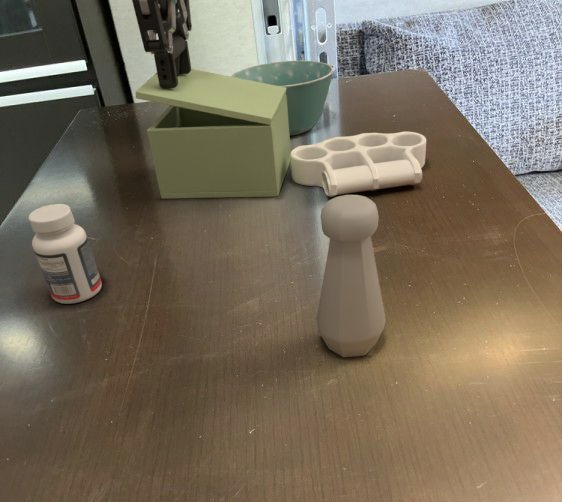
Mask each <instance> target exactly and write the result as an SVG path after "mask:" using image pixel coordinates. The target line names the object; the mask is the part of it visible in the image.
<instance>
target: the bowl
mask: <svg viewBox="0 0 562 502" xmlns="http://www.w3.org/2000/svg"><path fill="white" fill-rule="evenodd" d="M333 74H334V68H333V66H332V65H330V64H329V63H326V62H322V61H316V60H282V61H281V60H280V61H275V62H274V61H273V62H267V63H262V64H257V65H252V66H250V67H246V68H243V69H241V70H237V71H236V72H234V73H233V74H232V75H231V76H230V77H235V78H240V79H245V80H250V81H255V82H260V83H265V84H270V85H275V86H280V87H285V88H286V95H287V109H288V122H289V135H290V137H291V136H296V135H301V134H304V133H307V132H308V131H310V130H311V129H313V127H315V125H316V124H317V123H318V122H319V121H320V119H321V117H322V115H323V111H324V108H325V104H326V101H327V98H328V94H329V90H330V86H331V82H332V80H333V79H332V78H333Z"/></svg>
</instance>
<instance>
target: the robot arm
mask: <svg viewBox="0 0 562 502" xmlns="http://www.w3.org/2000/svg"><path fill="white" fill-rule="evenodd" d="M131 3H132V6H133V10H134V13H135V17H136V22H137V26H138V29H139V33H140V38H141V41H142V46H143V50H144V52H145V53H150V54H151V55H153V58H154V63H155V68H156V69H155V70H156V73H157V75H158V80H159V85H160V87H161V88H175V87H176V86H177V85H178V78H177V71H176V65H175V59H174V53H173V41H172V37H173V36H175V35H179V36H181V37H182V38H183V39H184V40H185V43H186V48H185V50H184V51H183V52H182V53H181V54H180V71H179V74H188V73H190V71H191V69H192V65H191V64H192V63H191V58H190V52H189V43H188V40H189V38H190V37H189V36H190V33H189V32H191V31H192V28H193V25H192V16H191V6H190V0H131ZM157 38H158V39H157Z"/></svg>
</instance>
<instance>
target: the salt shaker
mask: <svg viewBox="0 0 562 502" xmlns="http://www.w3.org/2000/svg"><path fill="white" fill-rule="evenodd" d="M320 210H321V211H320V225H321V231H322V233H323V235H324V236H325V237H327V238H329V242H328V249H327V250H328V251H327V255H326V262H325V267H324V273H323V280H322V285H321V291H320V296H319V302H318V307H317V308H318V309H317V313H316V314H317V315H316V326H317V330H318V333H319V335H320V337H321V338H322V340H323V341H324V343H325V345H326V347H327V348H328V349H329V350H330V351H332V352H334V353H335V354H337V355H338V356H341V357H342V358H352V357H363V356H366V355H367V354H368V353H369V352H370V351H371V350H372V349H373V348H374V347H375V346H376V345H377V343H378V341H379V339H380V337H381V336H382V333H383V331H384V329H385V327H386V323H387V318H386V313H385V307H384V303H383V297H382V291H381V286H380V280H379V275H378V269H377V263H376V258H375V257H376V256H375V252H374V247H373V241H372V236H373V235H374V234H375V233H376V232H377V230H378V227H379V218H380V217H379V211H378V207H377V205H376V202H374V201H373V200H372V199H370V198H368V197H367V196H364V195H361V194H360V195H359V194H342V195H339V196H334V197H332V198H331V199H329V200H328V201H327V202H326V203H325V204H324V206H323V207H321V209H320Z"/></svg>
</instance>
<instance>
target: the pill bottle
mask: <svg viewBox="0 0 562 502" xmlns="http://www.w3.org/2000/svg"><path fill="white" fill-rule="evenodd" d="M28 221H29V224H30V227H31V229H32V231H33V232H34V234H35V235H34V236H33V238H32V240H31V246H32V250H33V252H34V254H35V257H36V260H37V263H38V265H39V268H40V271H41V273H42V276H43V278H44V281H45V283H46V286H47V288H48V291H49V294H50V296H51V298H52V299H53V300H54V301H55V302H57V303H60V304H63V305H73V304H79V303H81V302H84V301H85V302H86V301H88V300H89V299H91V298H93V297H95V296H96V295H97V294H98V293H99V292H100V291H101V289H102V286H103V283H102V279H101V275H100V272H99V270H98V266H97V264H96V260H95V257H94V253H93V251H92V248H91V245H90V241H89V238H88V236H87V232H86V231H85V230H84V228H83V227H81V225H79V224H76V223H75V222H76V220H75V218H74V215H73V212H72V209H71V207H70V206H69V205H67V204H63V203H53V204H47V205H43V206H40V207H38V208H36V209H35V210H33V211H31V212H30V214H29V215H28Z"/></svg>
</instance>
